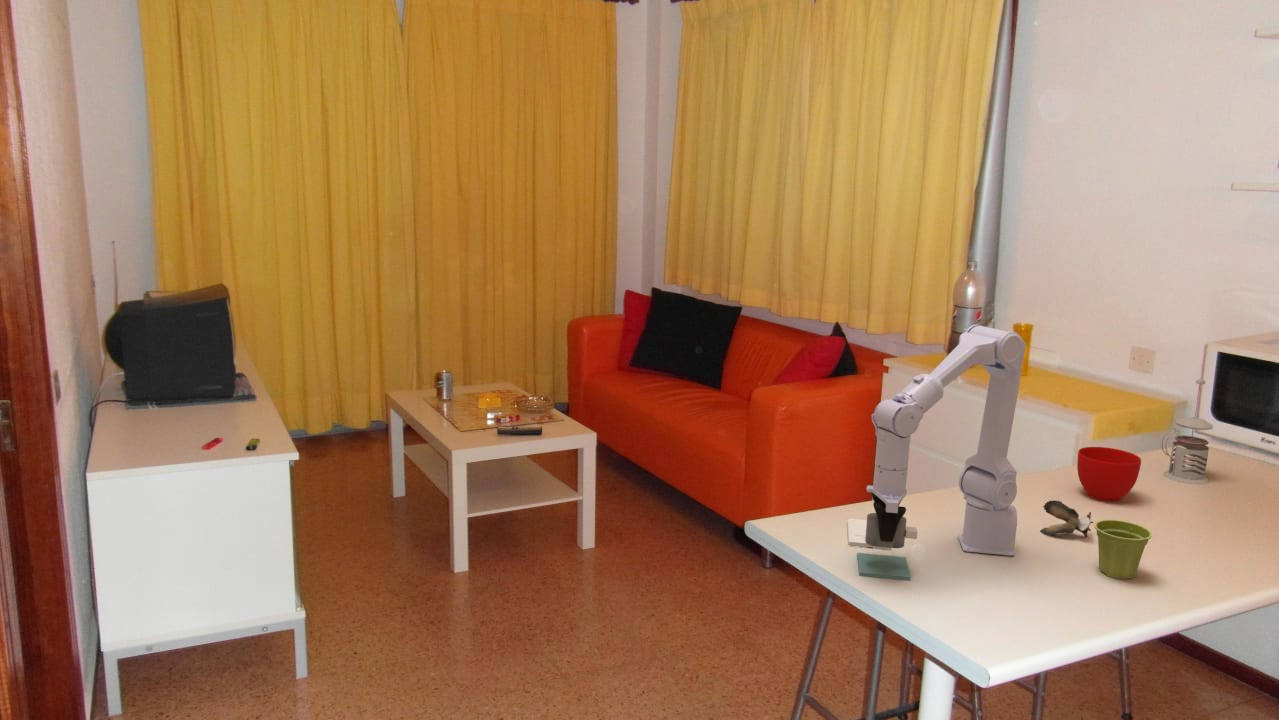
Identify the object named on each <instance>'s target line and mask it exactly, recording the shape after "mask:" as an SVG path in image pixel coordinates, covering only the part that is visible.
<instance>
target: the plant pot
mask: <svg viewBox="0 0 1279 720" xmlns="http://www.w3.org/2000/svg"><path fill="white" fill-rule="evenodd" d="M1094 528H1095V530H1096V536H1097V542H1098V569H1099V571H1100V572H1103V573H1104V574H1105V575H1106V576H1109V577H1110V576H1111V578H1115V579H1118V578H1120V579H1119V580H1126V579H1128V578H1130V579H1133V578H1135V577H1136V575H1137V572H1138V569H1139V565H1140V564H1141V563H1140V562H1141V560H1142V556H1143V554H1144V550H1145V547H1146V545H1148V542H1149V540H1150V539H1151V538H1152V537H1153V535H1152V534H1153V533H1152V532H1151V530H1149V529H1148V528H1146V527H1144V526H1142V525H1140V524H1137V523H1134V522H1130V521H1125V520H1119V519H1101V520H1098V521H1096V522H1095V523H1094Z"/></svg>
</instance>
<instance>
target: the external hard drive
mask: <svg viewBox="0 0 1279 720" xmlns="http://www.w3.org/2000/svg"><path fill="white" fill-rule="evenodd" d="M846 522H847V523H846V526H847V527H846V528H848V530H847V541H848V542H847V544H848V545H850V546H849V547H853V546H859V547H858V548H863V547H871V548H870V549H873V548H875V549H876V550H885V551H892V548H886V547H876V546H871V545H869V544H867V543H866V542H865V537H866V525H867V519H857V518H848V519H847V521H846Z"/></svg>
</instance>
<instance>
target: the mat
mask: <svg viewBox="0 0 1279 720" xmlns="http://www.w3.org/2000/svg"><path fill="white" fill-rule="evenodd" d="M856 559H857V560H856V561H857V567H858V575H859V576H862V577H869V578H871V577H872V578H881V579H891V580H892V579H893V580H899V581H900V580H902V581H911V573H910V569H909V565H908V561H907V557H905V556H897V555H887V554H875V553H865V552H857V553H856Z"/></svg>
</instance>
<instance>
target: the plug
mask: <svg viewBox="0 0 1279 720" xmlns="http://www.w3.org/2000/svg"><path fill="white" fill-rule="evenodd" d="M866 520H867V525H866V537H865V542H866V543H867V544H869V545H871V546H876V547H886V548H891V549H901V548H904V547H905V541H906V540H905V539H911V540H918V530H917V526H916V527H915V526H907V518H906V517H904V516H903V517H902V518H901V520H900V522H899V524H898V526H897V529H896V533H895V536H894V539H893V541H892V542H885V541H881V540H880V535H879V522H878V517H877V514H876V512H872V513H871V512H870V513H868V514H867V516H866Z"/></svg>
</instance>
